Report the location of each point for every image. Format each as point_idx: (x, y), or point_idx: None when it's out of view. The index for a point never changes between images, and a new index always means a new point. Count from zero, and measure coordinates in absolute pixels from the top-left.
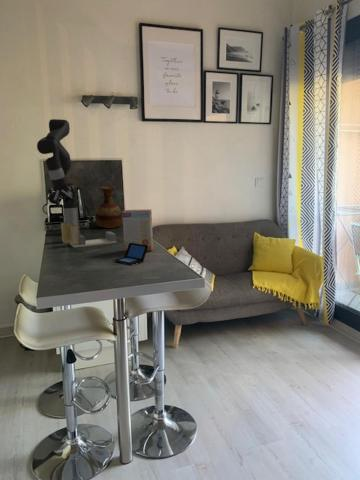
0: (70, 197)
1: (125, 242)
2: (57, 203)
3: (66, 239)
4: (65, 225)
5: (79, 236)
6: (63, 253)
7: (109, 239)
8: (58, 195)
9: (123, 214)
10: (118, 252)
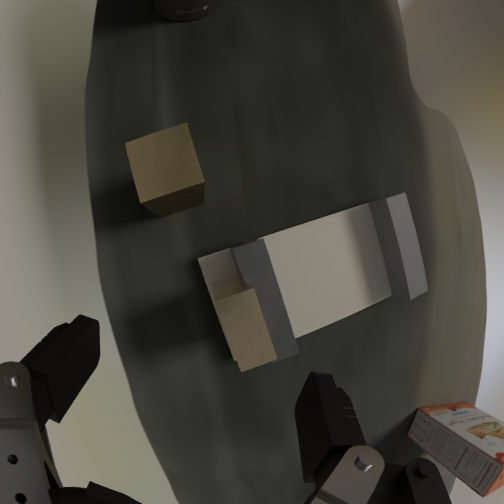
0: (310, 498)
1: (423, 447)
2: (76, 387)
3: (173, 210)
4: (165, 197)
5: (267, 325)
6: (212, 450)
7: (388, 268)
8: (40, 441)
9: (477, 491)
10: (389, 443)
